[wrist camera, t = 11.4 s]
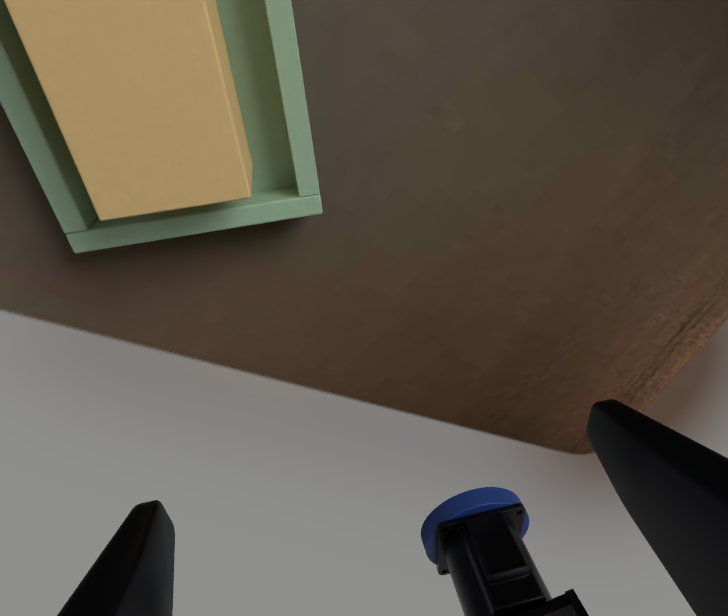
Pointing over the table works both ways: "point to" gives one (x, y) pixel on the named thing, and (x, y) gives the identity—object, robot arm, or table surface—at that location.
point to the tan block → (141, 100)
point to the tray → (260, 117)
